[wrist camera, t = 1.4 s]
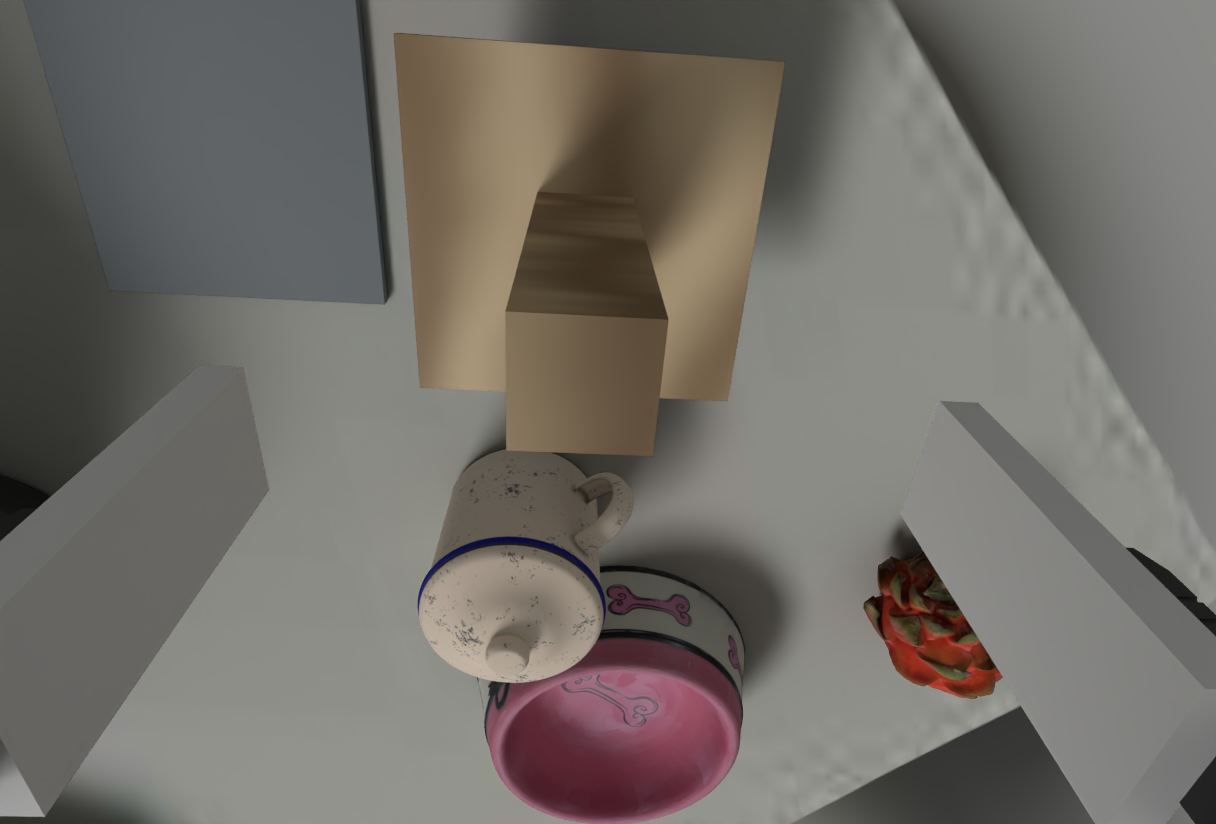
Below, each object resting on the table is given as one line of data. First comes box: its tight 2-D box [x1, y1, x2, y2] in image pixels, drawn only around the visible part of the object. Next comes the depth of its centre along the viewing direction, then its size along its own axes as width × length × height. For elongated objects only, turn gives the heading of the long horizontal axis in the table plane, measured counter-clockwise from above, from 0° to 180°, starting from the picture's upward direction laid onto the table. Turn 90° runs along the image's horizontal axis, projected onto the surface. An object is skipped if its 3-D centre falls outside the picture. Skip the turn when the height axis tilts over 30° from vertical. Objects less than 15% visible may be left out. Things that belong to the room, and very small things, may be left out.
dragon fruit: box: [863, 551, 1003, 699], centre depth 42 cm, size 8×8×12 cm
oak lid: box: [394, 33, 785, 456], centre depth 21 cm, size 13×13×13 cm
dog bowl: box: [477, 566, 745, 824], centre depth 45 cm, size 18×19×7 cm
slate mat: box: [24, 0, 388, 305], centre depth 31 cm, size 13×13×1 cm
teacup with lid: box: [418, 449, 634, 683], centre depth 36 cm, size 12×9×12 cm
